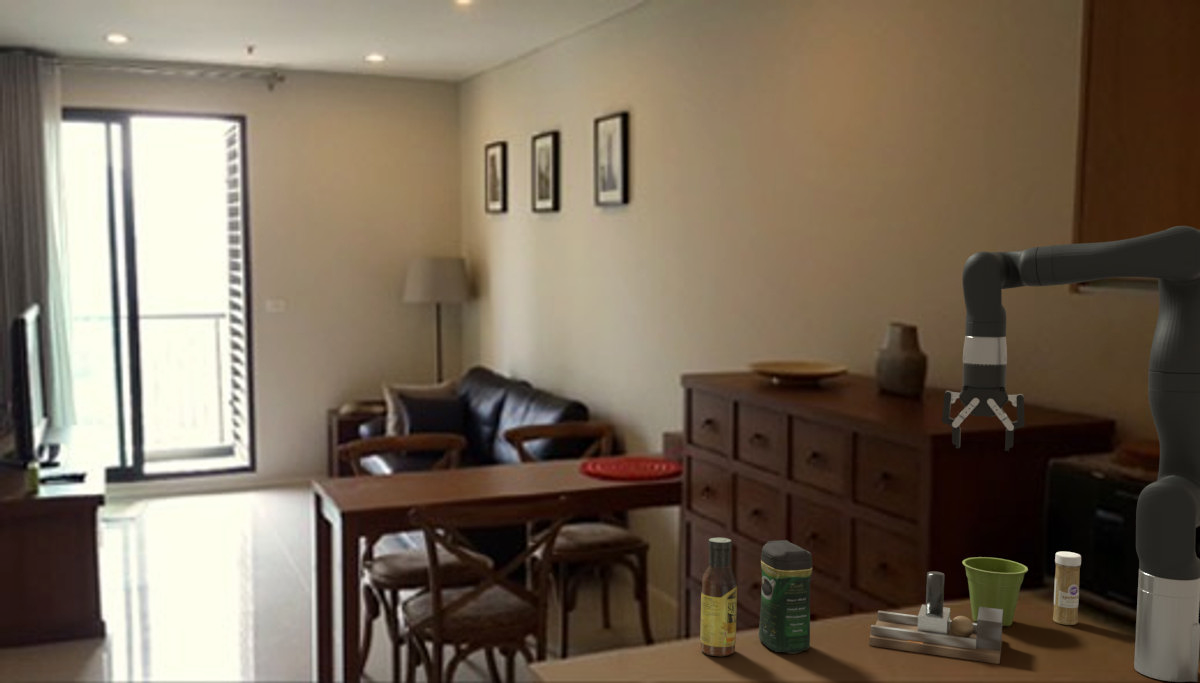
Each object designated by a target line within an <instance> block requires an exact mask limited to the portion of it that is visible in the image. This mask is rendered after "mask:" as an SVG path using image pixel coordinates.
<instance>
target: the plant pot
mask: <svg viewBox="0 0 1200 683" xmlns="http://www.w3.org/2000/svg"><path fill="white" fill-rule="evenodd" d="M961 563H962V565H963V566H964V568H965V574H966V577H967V583H968V584H967V585H968V591H969V592H968V593H969V599H970V608H971V609H970V610H971V617H972V618H971V619H972V621H973V622H977V618H978V612H979V607H987V608H994V609H1002V610H1003V620H1002V627H1003V626H1005V627H1010V626H1012V624H1013V620H1014V616H1015V612H1016V606H1017V603H1018V598H1019V594H1020V590H1021V586H1022V584H1023V581H1024V578H1025V574H1026V573H1027V572H1028V571H1029V569H1028V566H1026V565H1024V564H1022V563H1019V562H1017V561H1013V560H1010V559H1004V558H998V557H990V556H989V557H986V556H984V557H982V556H978V557H975V556H974V557H967V558H964V559H963V560H962V562H961Z"/></svg>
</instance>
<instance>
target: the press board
mask: <svg viewBox="0 0 1200 683" xmlns="http://www.w3.org/2000/svg"><path fill="white" fill-rule="evenodd" d="M952 620H953V619H950V624H951V621H952ZM1002 620H1003V610H1002V609H994V608H987V607H979V612H978V618H977V621H976V622H972V623H973V627H974V630H973V633H972V635H971V636H970V637H968V638H964V637H957V636H954V635H953V633H952V632H951V629H949V633H948V635H942V634H935V633H928V632H920V631H918V615H915V614H907V613H899V612H892V611H891V612H890V611H884V610H878V611H877V620H876V623H875V624H871V625H870V635H869V643H868V645H869V646H872V647H879V648H883V649H884V648H886V649H893V650H898V651H908V652H914V653H919V654H927V655H933V656H942V657H948V658H954V659H962V660H969V661H974V662H975V661H976V662H982V663H990V664H996V665H1000V662H1001V653H1002V643H1003V626H1002Z"/></svg>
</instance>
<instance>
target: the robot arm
mask: <svg viewBox="0 0 1200 683" xmlns="http://www.w3.org/2000/svg"><path fill="white" fill-rule="evenodd" d="M1116 278H1117V279H1118V278H1148V279H1157V280H1158V281H1157V282H1158V296H1159V303H1158V307H1159V308H1158V316H1157V321H1156V326H1155V330H1154V334H1153V337H1152V343H1151V348H1150V354H1149V362H1148V377H1147V378H1148V379H1147V380H1148V381H1147V382H1148V385H1147V387H1148V390H1147V391H1148V392H1147V393H1148V394H1147V396H1148V404H1149V408H1150V412H1151V415H1152V416H1151V417H1152V420H1153V424H1154V426H1155V429H1156V432H1157V436H1158V442H1159V466H1158V474H1157V480H1156V481H1154V482H1151V483H1149V484H1148V485H1146V486H1145V487H1144V488H1143V489H1142V490H1141V492H1140V494H1139V496H1138V499H1137V504H1136V515H1135V516H1136V519H1135V526H1136V527H1135V550H1136V553H1137V557H1138V560H1139V561H1138V563H1139V566H1138V567H1139V568H1138V580H1137V581H1138V585H1137V586H1138V587H1137V602H1136V603H1137V605H1136V623H1135V641H1134V642H1135V644H1134V657H1133V658H1134V662H1133V664H1134V667H1133V668H1134V669H1135V671H1136V672H1138V673H1139V674H1142V676H1143V675H1144V676H1145V677H1149V678H1152V679H1155V680H1159V681H1165V682H1170V683H1171V682H1172V683H1173V682H1175V683H1185V682H1192V683H1198V679H1199V661H1200V623H1199V619H1200V617H1199V616H1200V615H1199V614H1200V558H1199V557H1197V553H1196V537H1197V536H1196V534H1197V533H1196V531H1197V530H1196V529H1197V528H1198V527H1200V229H1198V228H1195V227H1193V226H1187V225H1177V226H1173V227H1172V226H1171V227H1169V228H1167V229H1164V230H1160V231H1157V232H1153V233H1150V234H1145V235H1140V236H1136V237H1132V238H1126V239H1120V240H1113V241H1102V242H1087V243H1086V242H1085V243H1082V242H1081V243H1068V244H1067V243H1066V244H1055V245H1043V246H1036V247H1035V246H1034V247H1029V248H1026V249H1023V250H1013V251H1012V250H1011V251H1009V250H1008V251H978V252H975V253H973V254H972V255H970V256H969V257H968V258H967V260H966V261H965V263H964V265H963V269H962V279H961V280H962V291H963V292H962V293H963V297H964V298H963V299H964V305H965V309H966V311H965V312H966V314H965V327H964V328H965V329H964V330H965V332H964V334H965V335H964V342H963V354H962V388H961V391H960V392H955V391H951V390H946V391H945V392H944V394H943V405H942V406H943V407H942V414H941V417H942V418H941V422H942V423H943V424H945V425H948V426H950V427H951V429H952V430H951V431H952V432H951V442H952V445H954V446H955V449H960V448H961V435H962V434H961V431H962V429H961V428H962V427H961V426H960V425H961V424H962V423H963V422H964V420H965V419H966V418H967V417H968V416H969V415H972V416H974V417H982V416H983V417H987V418H993V417H995V416H996V417H997V418H998V419H999V420H1000V421H1001V423H1002V424H1003V425H1004V427H1005V428H1006V429H1005V438H1004V440H1005V444H1004V451H1006V452H1010V449H1012V448H1013V447H1014V440H1015V439H1014V438H1015V437H1014V436H1015V434H1014V433H1015V430H1016V429H1020V428H1024V427H1025V400H1024V399H1025V398H1024V394H1023V393H1018V394H1008V393H1007V390H1006V389H1007V364H1008V363H1007V362H1008V350H1007V349H1008V348H1007V346H1008V345H1007V311H1006V309H1005V307H1004V306H1003V303H1002V302H1003V298H1002V293H1003V292H1002V290H1006V289H1016V288H1021V287H1023V288H1024V287H1050V286H1051V287H1052V286H1062V285H1070V284H1071V285H1072V284H1078V283H1079V284H1080V283H1087V282H1091V281H1099V280H1104V279H1107V280H1108V279H1116ZM957 399H959V400H960V402H961V403H962V404H963V405H964V408H963V409H962V410H961V411H960V412H959V413H958V415H957V416H956V417H954V418H952V417H951V407H952V404H955V403H956V400H957ZM1009 401H1010V402H1011V405H1012V406H1013V407H1015V408H1016V415H1017V416H1016V419H1017V420H1014V421H1012V420H1011V419H1010V417H1009V416H1008V414H1007V413H1006V412H1005V410H1003V407H1004V406H1005V405H1006V404H1007V403H1008V402H1009Z"/></svg>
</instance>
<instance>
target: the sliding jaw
mask: <svg viewBox="0 0 1200 683" xmlns="http://www.w3.org/2000/svg"><path fill="white" fill-rule="evenodd" d="M944 591H945V573H943V572H940V571H927V573H926V597H925V604H921V607H920V609H919V612H918V615H917V616H918V631H920V632H928V633H935V634H942V635H948V633H949V629H950V620H951V607H945V606H944V597H945V596H944V595H945V593H944Z"/></svg>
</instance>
